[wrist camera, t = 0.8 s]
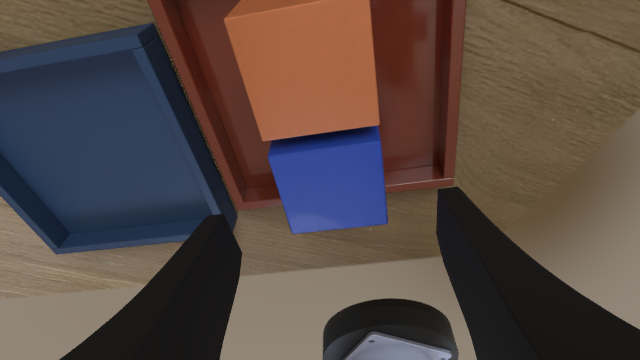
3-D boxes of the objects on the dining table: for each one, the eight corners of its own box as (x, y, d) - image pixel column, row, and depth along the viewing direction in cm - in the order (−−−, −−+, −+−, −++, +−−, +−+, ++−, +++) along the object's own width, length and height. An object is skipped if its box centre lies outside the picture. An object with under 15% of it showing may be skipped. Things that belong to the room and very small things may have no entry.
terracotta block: (368, 73, 15) (380, 125, 12) (277, 87, 16) (262, 142, 12) (358, -34, 13) (369, -9, 9) (251, -13, 13) (222, 18, 10)
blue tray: (237, 216, 21) (231, 236, 20) (71, 235, 23) (56, 254, 21) (153, 22, 15) (136, 34, 13) (-76, 65, 16) (-111, 80, 15)
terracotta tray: (445, 166, 19) (454, 185, 17) (243, 191, 20) (237, 210, 19) (458, -98, 12) (473, -97, 11) (153, -33, 13) (135, -26, 12)
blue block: (377, 160, 18) (388, 224, 14) (299, 170, 18) (292, 235, 15) (370, 86, 16) (381, 141, 12) (280, 100, 16) (266, 156, 13)
